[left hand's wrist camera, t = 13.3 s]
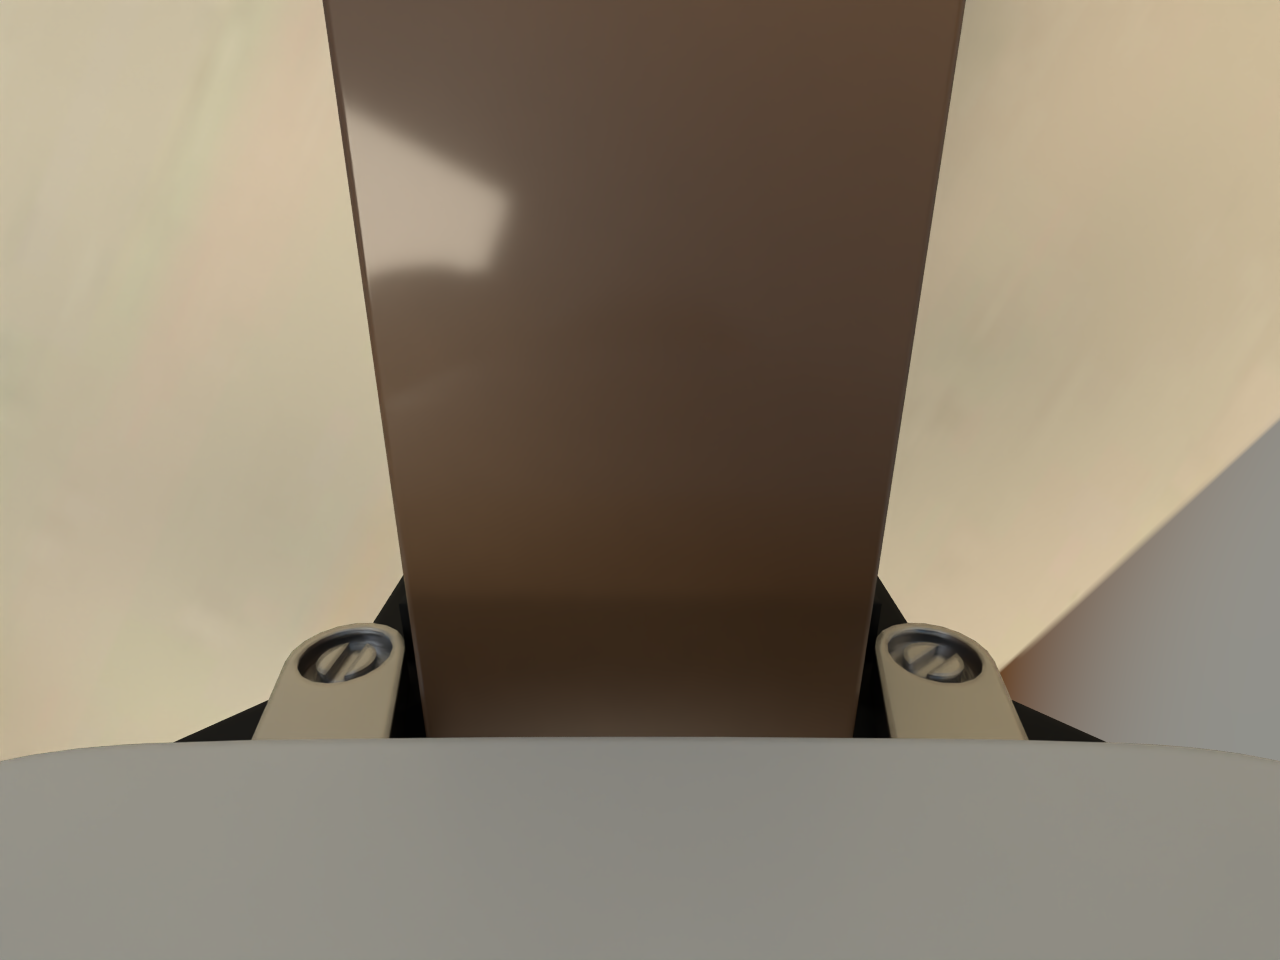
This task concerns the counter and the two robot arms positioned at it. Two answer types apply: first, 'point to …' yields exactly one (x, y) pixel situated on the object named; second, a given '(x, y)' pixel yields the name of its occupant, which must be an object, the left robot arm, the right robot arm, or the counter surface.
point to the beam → (641, 343)
